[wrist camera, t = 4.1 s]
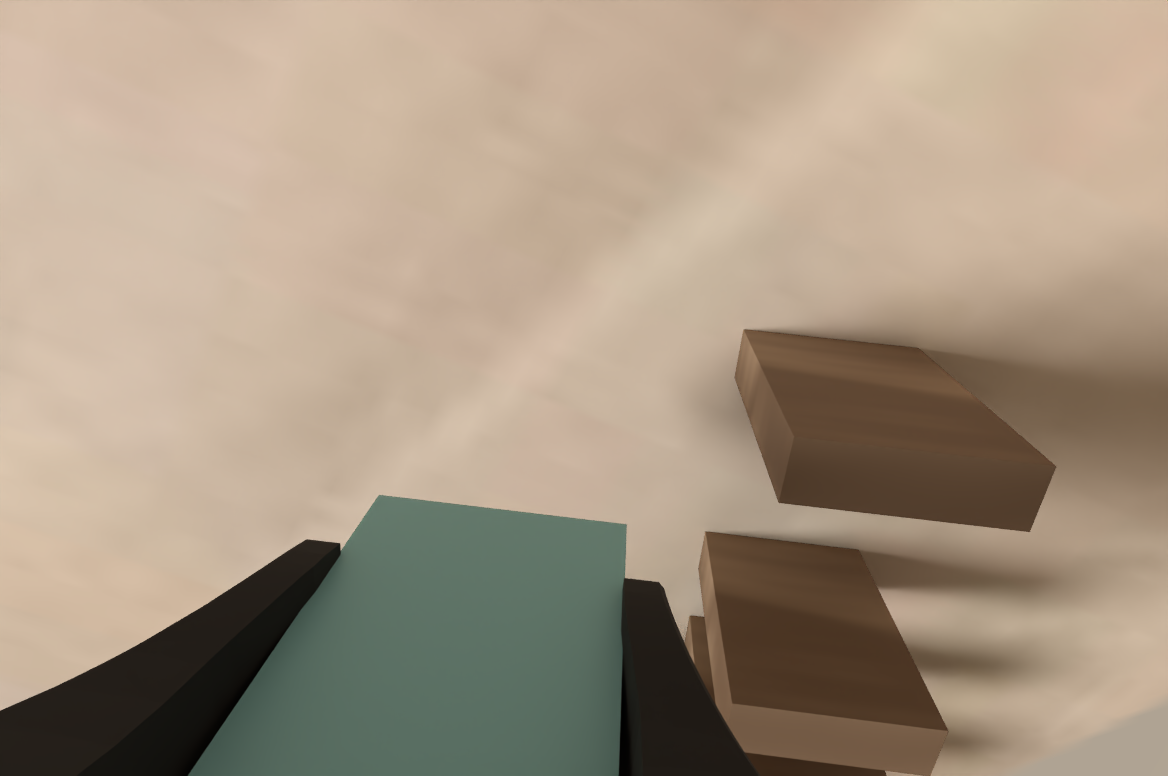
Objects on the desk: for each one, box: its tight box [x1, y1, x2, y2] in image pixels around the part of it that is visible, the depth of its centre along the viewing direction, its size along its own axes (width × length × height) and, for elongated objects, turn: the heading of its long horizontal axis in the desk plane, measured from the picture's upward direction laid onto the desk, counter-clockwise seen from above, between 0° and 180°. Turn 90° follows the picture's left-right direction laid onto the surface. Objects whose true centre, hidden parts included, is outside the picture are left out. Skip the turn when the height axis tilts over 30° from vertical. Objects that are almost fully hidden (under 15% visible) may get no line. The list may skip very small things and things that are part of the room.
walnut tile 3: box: [698, 532, 948, 776], centre depth 19 cm, size 2×5×7 cm, turn 85°
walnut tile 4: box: [685, 616, 886, 776], centre depth 21 cm, size 2×5×7 cm, turn 85°
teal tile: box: [188, 495, 627, 776], centre depth 11 cm, size 2×5×7 cm, turn 85°
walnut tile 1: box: [735, 330, 1056, 532], centre depth 17 cm, size 2×5×7 cm, turn 85°
